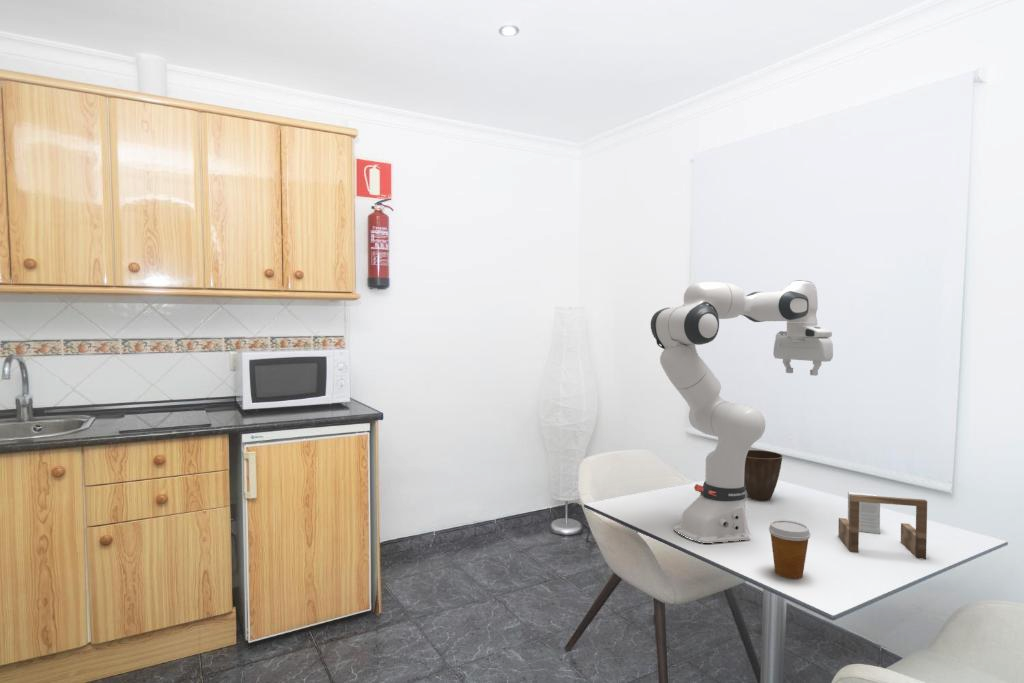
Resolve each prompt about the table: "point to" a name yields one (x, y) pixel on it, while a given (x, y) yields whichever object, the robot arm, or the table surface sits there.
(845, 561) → the table surface
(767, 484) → the plant pot
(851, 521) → the wooden archway
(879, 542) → the table surface
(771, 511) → the table surface
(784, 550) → the disposable coffee cup
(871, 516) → the small box
